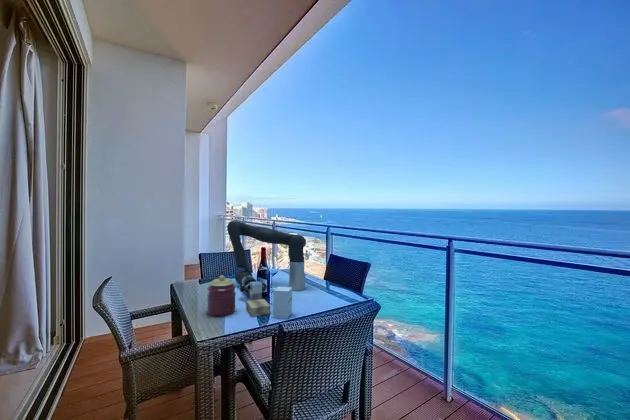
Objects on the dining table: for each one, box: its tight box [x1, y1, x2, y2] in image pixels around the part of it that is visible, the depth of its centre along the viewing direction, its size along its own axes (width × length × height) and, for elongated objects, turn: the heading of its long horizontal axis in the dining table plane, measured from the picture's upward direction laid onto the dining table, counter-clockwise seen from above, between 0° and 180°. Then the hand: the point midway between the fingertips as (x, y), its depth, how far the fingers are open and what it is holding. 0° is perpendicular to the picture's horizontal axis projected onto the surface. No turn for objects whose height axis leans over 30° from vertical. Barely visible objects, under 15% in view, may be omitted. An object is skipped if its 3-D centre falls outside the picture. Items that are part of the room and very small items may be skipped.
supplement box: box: [272, 286, 293, 320], centre depth 139 cm, size 7×7×13 cm
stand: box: [245, 298, 271, 318], centre depth 143 cm, size 9×11×4 cm
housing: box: [249, 280, 263, 301], centre depth 157 cm, size 5×6×10 cm
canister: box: [206, 274, 237, 317], centre depth 141 cm, size 13×13×18 cm
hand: (256, 290), depth 156 cm, fingers open, 8 cm apart
